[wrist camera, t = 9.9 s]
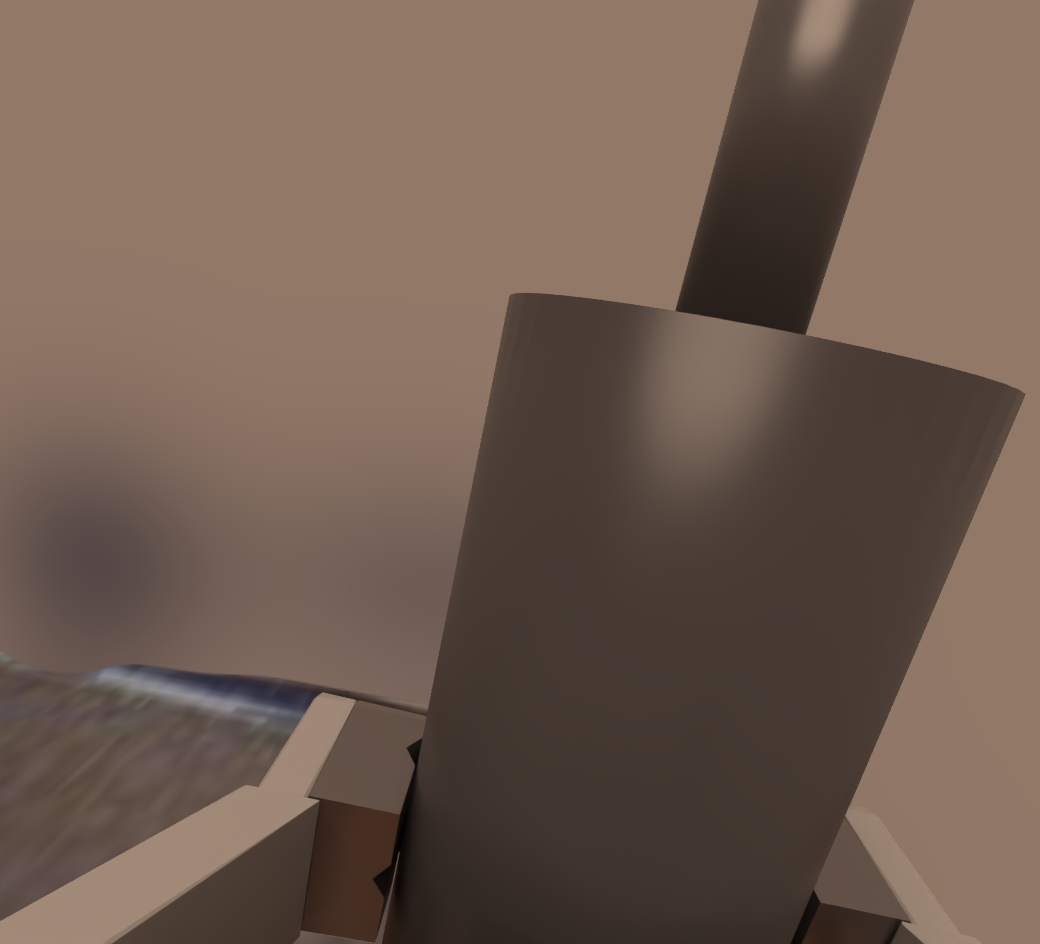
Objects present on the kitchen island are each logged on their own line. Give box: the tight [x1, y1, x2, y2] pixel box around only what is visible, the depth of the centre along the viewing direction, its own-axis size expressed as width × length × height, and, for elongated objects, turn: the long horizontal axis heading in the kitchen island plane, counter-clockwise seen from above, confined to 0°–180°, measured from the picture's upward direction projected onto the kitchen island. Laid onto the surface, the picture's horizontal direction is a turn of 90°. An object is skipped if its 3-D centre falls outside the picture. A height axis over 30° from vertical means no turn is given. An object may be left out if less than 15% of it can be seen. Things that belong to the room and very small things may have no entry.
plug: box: [382, 0, 1025, 944], centre depth 7 cm, size 4×4×17 cm
